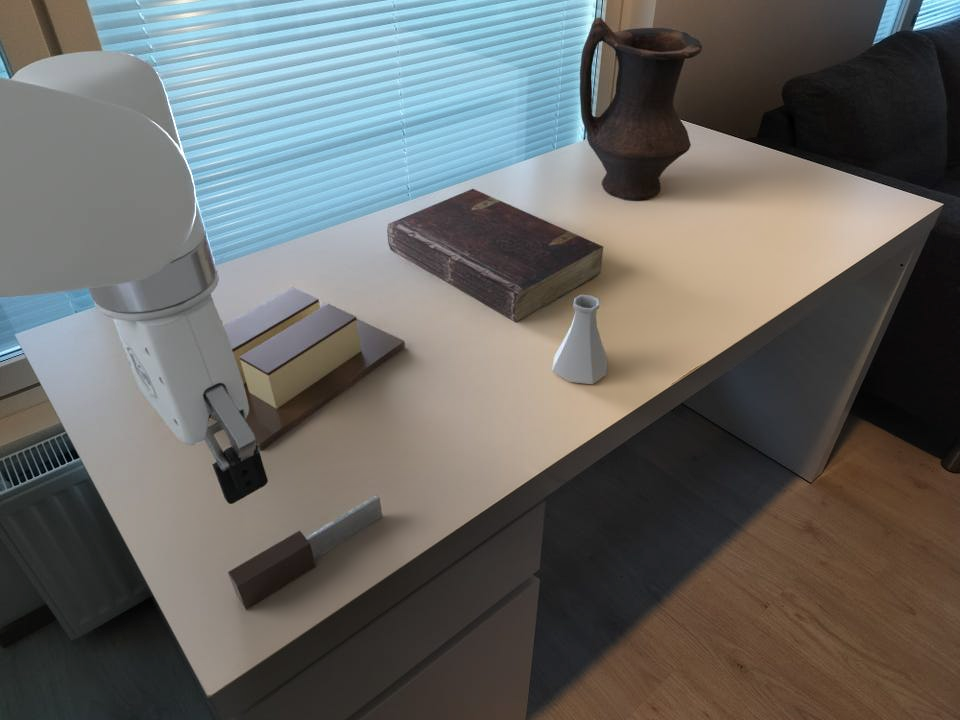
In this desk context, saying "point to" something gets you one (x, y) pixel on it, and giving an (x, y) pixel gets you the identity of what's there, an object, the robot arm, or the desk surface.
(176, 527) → the desk surface
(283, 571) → the knife
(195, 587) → the desk surface
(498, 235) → the hardback book
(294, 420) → the cake board
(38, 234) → the robot arm
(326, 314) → the cake
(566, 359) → the flask
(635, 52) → the jug
